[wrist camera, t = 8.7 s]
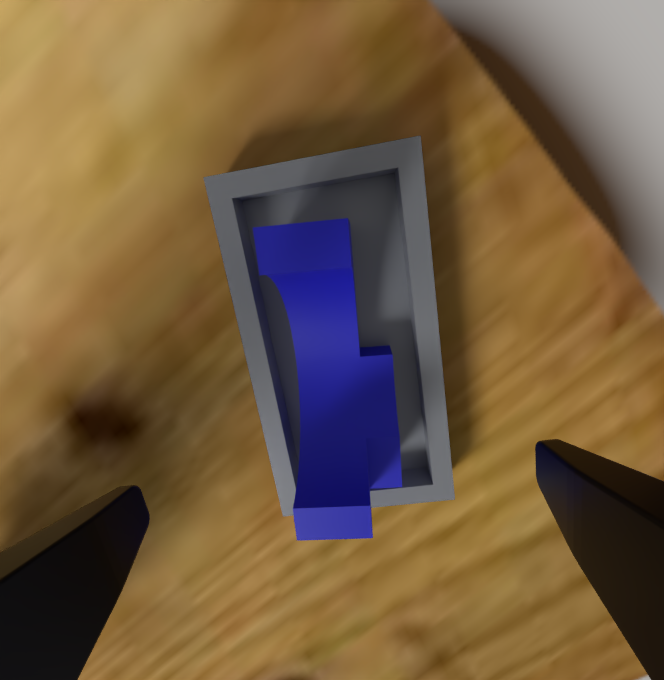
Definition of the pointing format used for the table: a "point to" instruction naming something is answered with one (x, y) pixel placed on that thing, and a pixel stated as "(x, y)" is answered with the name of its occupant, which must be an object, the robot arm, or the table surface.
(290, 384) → the tray
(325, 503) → the blue curved cradle
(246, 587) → the table surface
